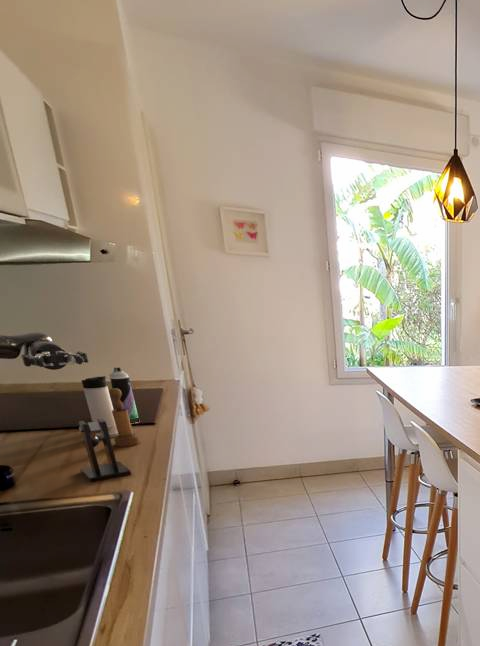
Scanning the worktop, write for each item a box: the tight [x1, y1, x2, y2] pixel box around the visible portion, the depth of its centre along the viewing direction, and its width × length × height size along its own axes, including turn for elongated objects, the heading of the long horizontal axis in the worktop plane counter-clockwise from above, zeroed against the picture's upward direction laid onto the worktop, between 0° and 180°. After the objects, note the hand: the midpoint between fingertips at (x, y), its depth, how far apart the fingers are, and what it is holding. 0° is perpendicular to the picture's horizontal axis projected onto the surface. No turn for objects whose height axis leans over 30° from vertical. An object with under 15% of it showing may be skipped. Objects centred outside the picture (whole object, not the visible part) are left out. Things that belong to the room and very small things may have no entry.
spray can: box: [109, 367, 139, 425], centre depth 197 cm, size 6×6×20 cm
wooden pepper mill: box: [109, 388, 141, 448], centre depth 174 cm, size 7×6×18 cm
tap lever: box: [82, 421, 101, 448], centre depth 151 cm, size 14×4×4 cm
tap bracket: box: [78, 419, 132, 483], centre depth 149 cm, size 11×9×15 cm
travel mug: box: [80, 375, 118, 440], centre depth 180 cm, size 6×7×20 cm
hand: (60, 361), depth 154 cm, fingers open, 8 cm apart
